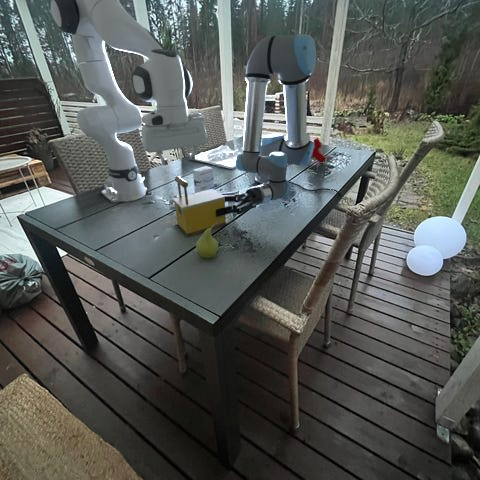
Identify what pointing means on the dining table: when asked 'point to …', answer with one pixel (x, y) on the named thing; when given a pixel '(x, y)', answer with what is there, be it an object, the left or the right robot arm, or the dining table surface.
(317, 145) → the toy gun
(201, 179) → the ink box
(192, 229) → the chest
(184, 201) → the lid
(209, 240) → the fruit
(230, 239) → the dining table surface
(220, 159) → the relief map
